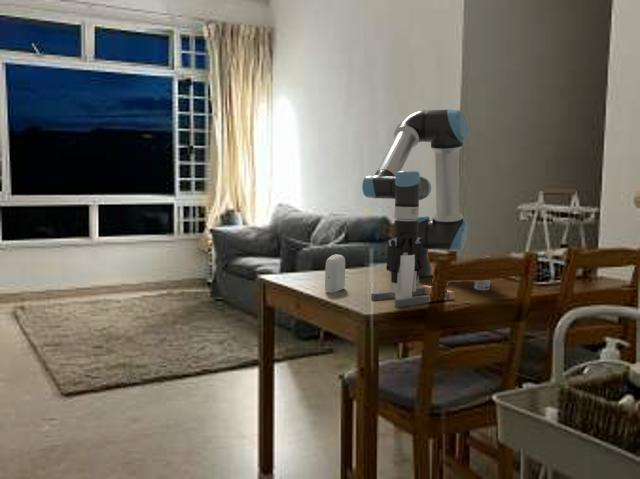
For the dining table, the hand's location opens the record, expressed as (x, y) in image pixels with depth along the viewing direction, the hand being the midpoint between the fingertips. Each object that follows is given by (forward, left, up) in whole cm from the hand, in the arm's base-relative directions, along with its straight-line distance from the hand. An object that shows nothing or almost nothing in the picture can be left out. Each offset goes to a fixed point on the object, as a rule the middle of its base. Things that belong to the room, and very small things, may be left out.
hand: (404, 291), depth 208 cm
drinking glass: (0, 0, -3) cm, 3 cm away
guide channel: (-4, 0, -3) cm, 5 cm away
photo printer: (+9, -25, -3) cm, 27 cm away
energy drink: (-38, -1, -3) cm, 38 cm away
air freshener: (-15, -16, -3) cm, 22 cm away
